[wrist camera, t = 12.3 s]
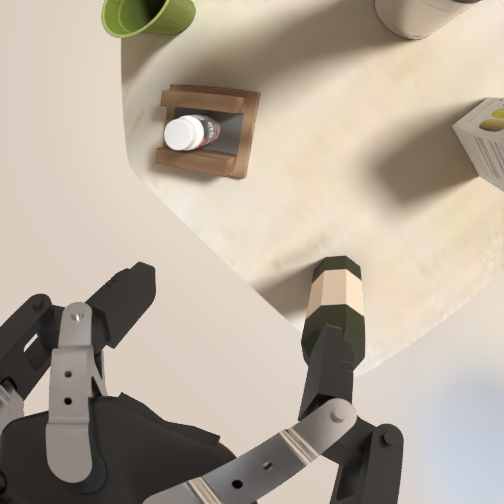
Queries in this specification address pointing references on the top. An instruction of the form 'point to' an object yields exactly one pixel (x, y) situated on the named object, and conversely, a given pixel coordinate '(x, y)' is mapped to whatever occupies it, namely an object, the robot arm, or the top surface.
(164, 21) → the plant pot
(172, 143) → the pill bottle
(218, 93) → the cradle
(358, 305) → the wine bottle
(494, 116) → the supplement box
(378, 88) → the top surface
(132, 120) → the top surface
